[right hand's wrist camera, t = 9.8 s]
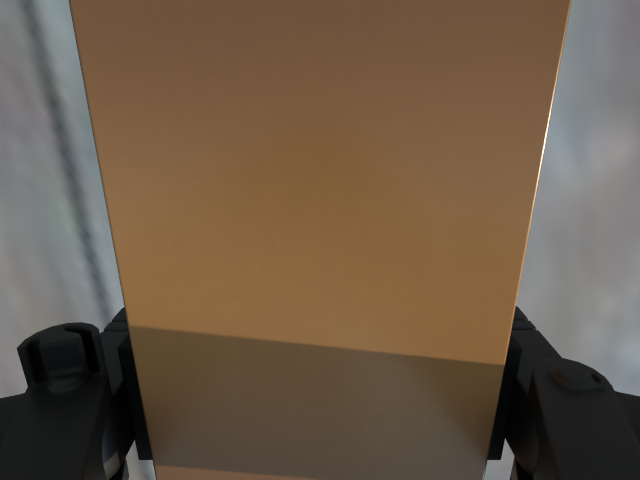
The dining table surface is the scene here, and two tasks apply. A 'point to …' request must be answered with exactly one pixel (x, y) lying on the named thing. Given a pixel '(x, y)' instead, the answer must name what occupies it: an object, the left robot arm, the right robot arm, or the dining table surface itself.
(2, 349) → the dining table surface
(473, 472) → the post
